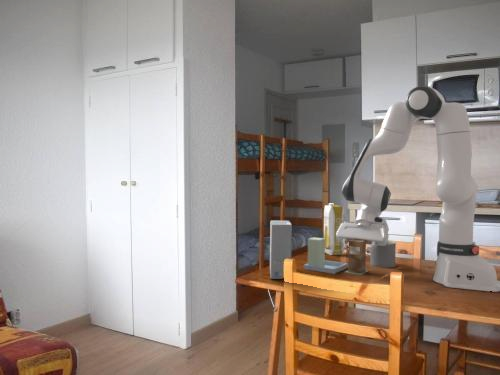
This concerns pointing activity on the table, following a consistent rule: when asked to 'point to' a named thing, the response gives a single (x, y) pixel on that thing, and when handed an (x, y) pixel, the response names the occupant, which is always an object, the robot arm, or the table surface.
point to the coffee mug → (383, 255)
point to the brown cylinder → (357, 256)
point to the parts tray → (328, 267)
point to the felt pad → (356, 273)
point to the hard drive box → (279, 246)
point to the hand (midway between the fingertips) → (356, 250)
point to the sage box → (316, 252)
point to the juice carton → (333, 228)
